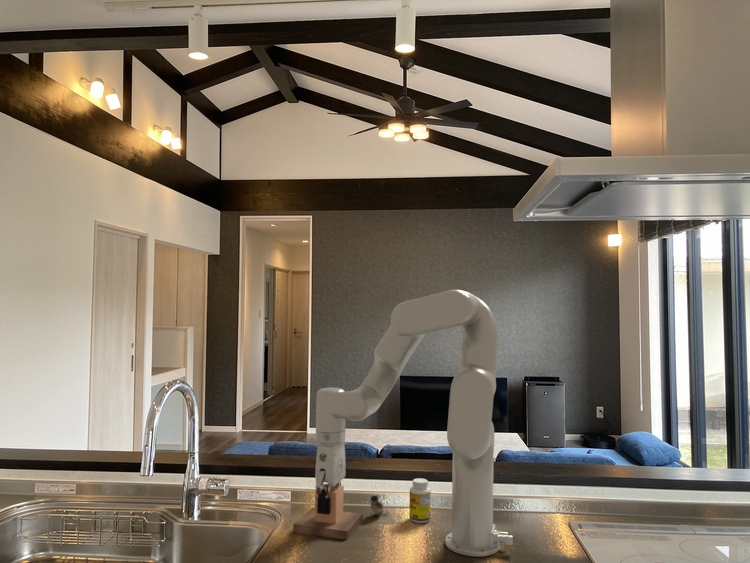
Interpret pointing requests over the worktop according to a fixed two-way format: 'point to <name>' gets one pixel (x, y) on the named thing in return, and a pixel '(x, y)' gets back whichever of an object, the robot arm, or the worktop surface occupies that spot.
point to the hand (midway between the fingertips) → (329, 507)
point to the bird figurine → (377, 506)
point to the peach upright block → (332, 505)
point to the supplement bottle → (420, 501)
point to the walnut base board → (328, 525)
